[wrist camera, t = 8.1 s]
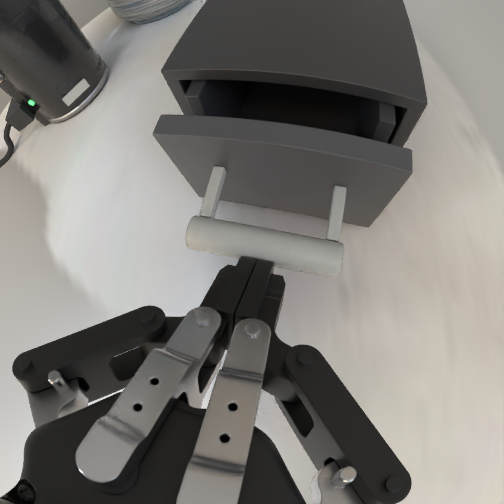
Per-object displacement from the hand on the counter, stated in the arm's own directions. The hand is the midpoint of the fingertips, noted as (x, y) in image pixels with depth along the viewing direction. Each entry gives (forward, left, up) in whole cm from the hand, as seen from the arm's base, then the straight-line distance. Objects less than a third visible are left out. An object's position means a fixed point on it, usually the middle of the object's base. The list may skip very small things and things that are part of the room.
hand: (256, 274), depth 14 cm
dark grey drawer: (+5, +8, -4) cm, 10 cm away
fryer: (+8, +13, -5) cm, 16 cm away
